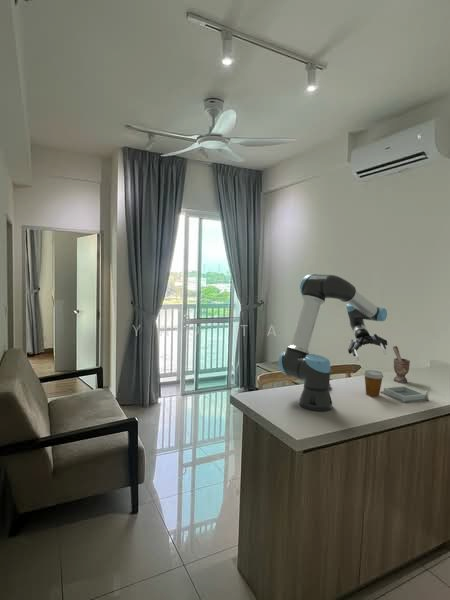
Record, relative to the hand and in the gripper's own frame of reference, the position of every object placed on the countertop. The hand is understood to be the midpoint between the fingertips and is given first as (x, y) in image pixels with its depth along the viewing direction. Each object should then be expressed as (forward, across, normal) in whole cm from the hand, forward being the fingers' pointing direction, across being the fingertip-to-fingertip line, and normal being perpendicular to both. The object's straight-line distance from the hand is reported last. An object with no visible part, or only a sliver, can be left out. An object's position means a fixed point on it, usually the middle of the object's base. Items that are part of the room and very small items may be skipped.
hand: (371, 355), depth 189 cm
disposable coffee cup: (+7, +5, -20) cm, 21 cm away
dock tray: (+6, -10, -25) cm, 28 cm away
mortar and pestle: (-21, -14, -38) cm, 46 cm away
